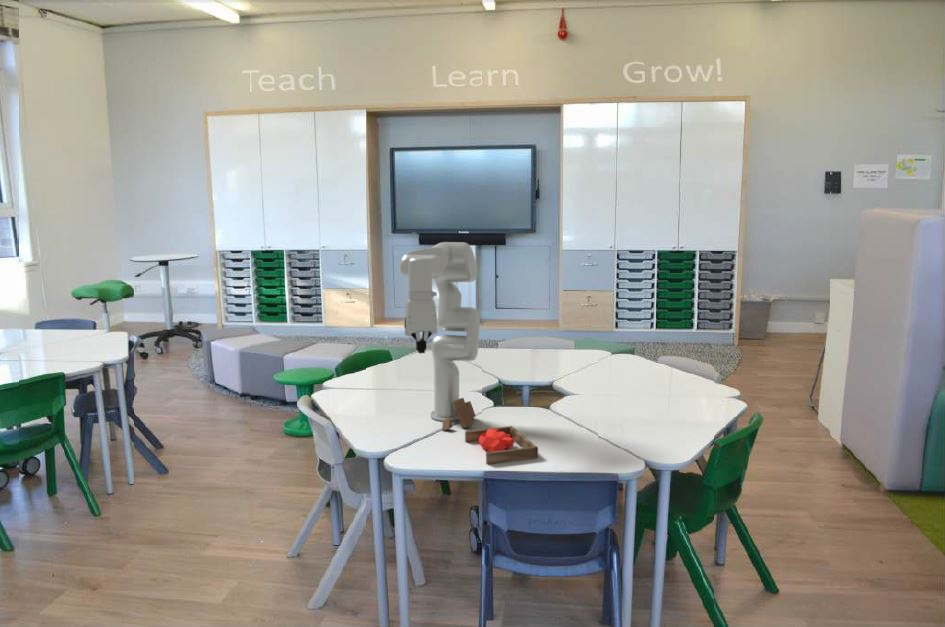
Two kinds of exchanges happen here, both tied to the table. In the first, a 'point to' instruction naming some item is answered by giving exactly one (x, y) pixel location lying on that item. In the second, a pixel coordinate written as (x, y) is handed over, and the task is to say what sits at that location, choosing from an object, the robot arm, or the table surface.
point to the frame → (506, 455)
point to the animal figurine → (495, 440)
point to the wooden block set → (461, 414)
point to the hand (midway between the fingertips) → (421, 352)
